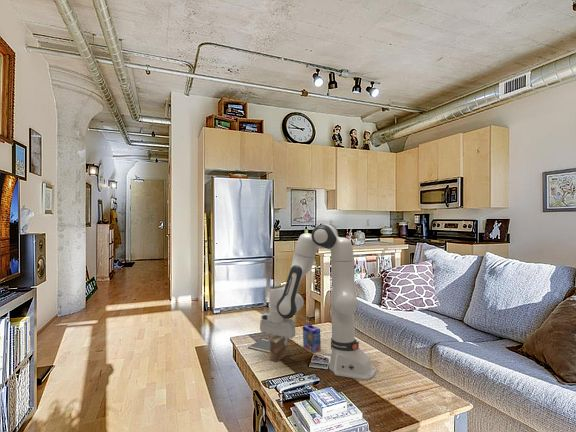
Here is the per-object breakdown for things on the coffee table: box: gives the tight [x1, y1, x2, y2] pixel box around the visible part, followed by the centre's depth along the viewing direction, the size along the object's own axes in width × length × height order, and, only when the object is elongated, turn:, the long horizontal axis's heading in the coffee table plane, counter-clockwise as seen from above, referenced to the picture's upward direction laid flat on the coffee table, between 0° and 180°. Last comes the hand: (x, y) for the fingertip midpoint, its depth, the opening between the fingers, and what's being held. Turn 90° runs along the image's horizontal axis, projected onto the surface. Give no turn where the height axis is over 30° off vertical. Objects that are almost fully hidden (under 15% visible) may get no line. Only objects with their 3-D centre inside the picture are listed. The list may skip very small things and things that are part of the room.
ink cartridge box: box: [302, 322, 322, 353], centre depth 186 cm, size 10×6×14 cm, turn 35°
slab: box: [269, 335, 287, 363], centre depth 174 cm, size 4×9×11 cm, turn 150°
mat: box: [247, 338, 270, 354], centre depth 189 cm, size 16×14×1 cm
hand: (277, 343), depth 174 cm, fingers open, 8 cm apart
